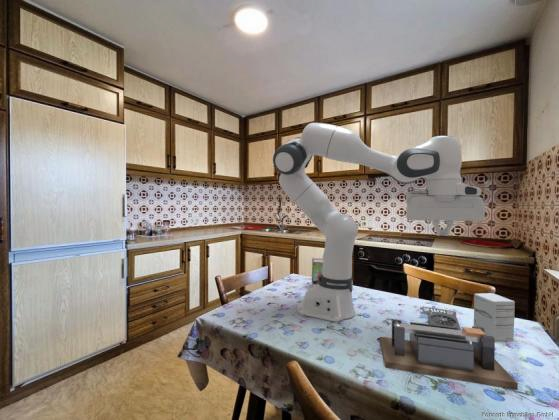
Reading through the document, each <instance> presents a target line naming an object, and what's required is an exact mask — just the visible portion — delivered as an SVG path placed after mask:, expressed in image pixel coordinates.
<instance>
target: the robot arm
mask: <svg viewBox="0 0 559 420" xmlns="http://www.w3.org/2000/svg"><path fill="white" fill-rule="evenodd" d="M313 156H319V157H323V158H325V159H328V160H333V161H337V162H342V163H348V164H353V165H354V164H356V165H361V166H364V167H366V168H370V169H372V170H376V171H380V172H381V173H382V172H383V173H385V174H386V175H388V176H389V177H390V178H391V179H393V180H394V181H395V182H397V183H399V184H404V185H409V184H412V183H415V182H416V181H417V180H420V179H421V178H422V179H423V178H425V179H426V189H425V190H415V189H414V190H410V191H408V192H407V193H406V194H405V203H406V207H405V208H406V210H405V218H406V219H407V220H409V221H411V220H412V221H431V222H432V223H431V224H432V225H433V227H434V228H435V230H436V233H435V235H436V236H438V237H439V236H443V237H445V236H446V237H448V236H450V231H451V230H452V227H453V226H454V223H455V222H458V221H460V222H482V221H483V220H484V219H485V217H486V215H485V214H486V212H485V203H484V200H483V198H482V197H481V194H482V189H481V188H480V187H477V186H473V185H469V184H465V183H462V175H461V168H462V163H463V159H462V146H461V143H460V140H459V138H457V137H454V136H451V135H436V136H433V137H431V138H430V139H428V140H427V141H425V142H424V143H422V144H419V145H416V146H414V147H412V148H408V149H405V150H404V151H402V152H401V153H400V154H399V155H392V154H389V153H385V152H383V151H379V150H376V149H373V148H371V147H369V146H368V145H366V144H365V143H364V141H363V140H362V139H361V138H360V136H359V135H358V134H357V133H356V132H354V131H353V130H351V129H348V128H346V127H342V126H339V125H335V124H331V123H330V124H329V123H324V122H310V123H308V124H306V126H305V127H304V129H303V130H302V133H301V136H300V137H299V136H297V137H295V138H292V139H290V140H288V141H286V142H285V143H284V144H282V145H280V146H278V148H277V149H276V150H275V151H274V153H273V156H272V164H273V167H274V168H275V170H276V171H277V172H278V173H280V175H279V179H278V184H279V185H280V187H281V189H282V190H283V191H284V193H285V194H286V196H287V197H288V198H289V199H290V200H291V202H293V203H294V205H296V206H297V208H299V210H300V211H302V213H303V214H304V215H305V216H306V217H307V218H308V219H309V220H310V222H312V224H313V225H314V226H315V227H316V228H317V229H318V230H319V231H320V232H321V233H322V235H324V236H325V241H324V242H325V243H324V250H323V254H322V258H323V274H322V273H319V274H318V276H317V277H318V279H317V282H318V284H317V285H315V286H314V287H312V286H311V288H309V289H308V290H307V291H306V292H305V294H304V296H303V300H301V301H300V302H299V304H298V305H297V313H298V314H299V315H303V316H306V317H312V318H315V319H320V320H326V321H329V322H333V323H335V322H336V323H337V322H340V321H342V320H348V319H350V318H351V319H352V318H353V317H354V316H355V315H356V310H355V307H354V302H353V301H354V300H353V290H354V287H353V285H354V283H353V281H354V280H353V276H352V262H353V261H352V259H353V258H352V256H353V253H354V252H353V251H354V246H355V240H356V237H357V235H358V233H359V228H358V224H357V222H356V221H355V219H354V218H352V217H351V216H350V215H348V214H346V213H341V212H340V211H338V209H337V208H336V206H334V204H333V203H332V201H331V200H330V198H329V197H328V196H327V195H326V193H324V191H323V190H322V189H321V188H320V187H319V186H318V185H317V184H316V183H315V182H314V181H313V180H312V179H311V178H310V177H309V176H308V175H307V174H306V171H305V169H306V168H308V166H309V164H310V162H311V160H312V158H313ZM441 221H445V225H446V227H445V228H444V229H441V228H440V226H439V225H441V223H440V222H441Z"/></svg>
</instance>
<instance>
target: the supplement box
mask: <svg viewBox="0 0 559 420" xmlns="http://www.w3.org/2000/svg"><path fill="white" fill-rule="evenodd" d="M473 298H474V299H473V301H474V302H473V303H474V304H473V326H474V327H483V328H484V329H485V334H486V335H487V336H493V337H494V338H495V342H508V341H509V342H511V341H514V338H515V337H514V335H515V334H514V333H515V307H516V306H515V303H516V302H515V300H512V299H509V298H507V297H505V296H501V295H499V294H496V293H493V292H487V293H486V292H483V293H474V297H473Z"/></svg>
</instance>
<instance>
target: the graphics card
mask: <svg viewBox="0 0 559 420" xmlns="http://www.w3.org/2000/svg"><path fill="white" fill-rule="evenodd" d="M419 309H420V310H421V311H419V314H420V313H421V314H422V315H425V314H426V316H427V315H428V316H427V318H428V324H431V325H440V326H448V327H457V328H458V330H462V328H461V326H460V323H459V320H458V317H457V311H456V310H455V311H454V310H451V309H443V308H437V307H428V306H424V305H422V307H421V306H419Z"/></svg>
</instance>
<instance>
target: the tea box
mask: <svg viewBox="0 0 559 420" xmlns="http://www.w3.org/2000/svg"><path fill="white" fill-rule="evenodd" d="M311 260H312V261H311V288H312V287H314V286H315V285H317V284H318V282H317V279H318V277H317V276H318V274H319V273H322V274H323V257H321V258H320V257H319V258H317V257H316V258H315V257H312V259H311Z"/></svg>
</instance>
